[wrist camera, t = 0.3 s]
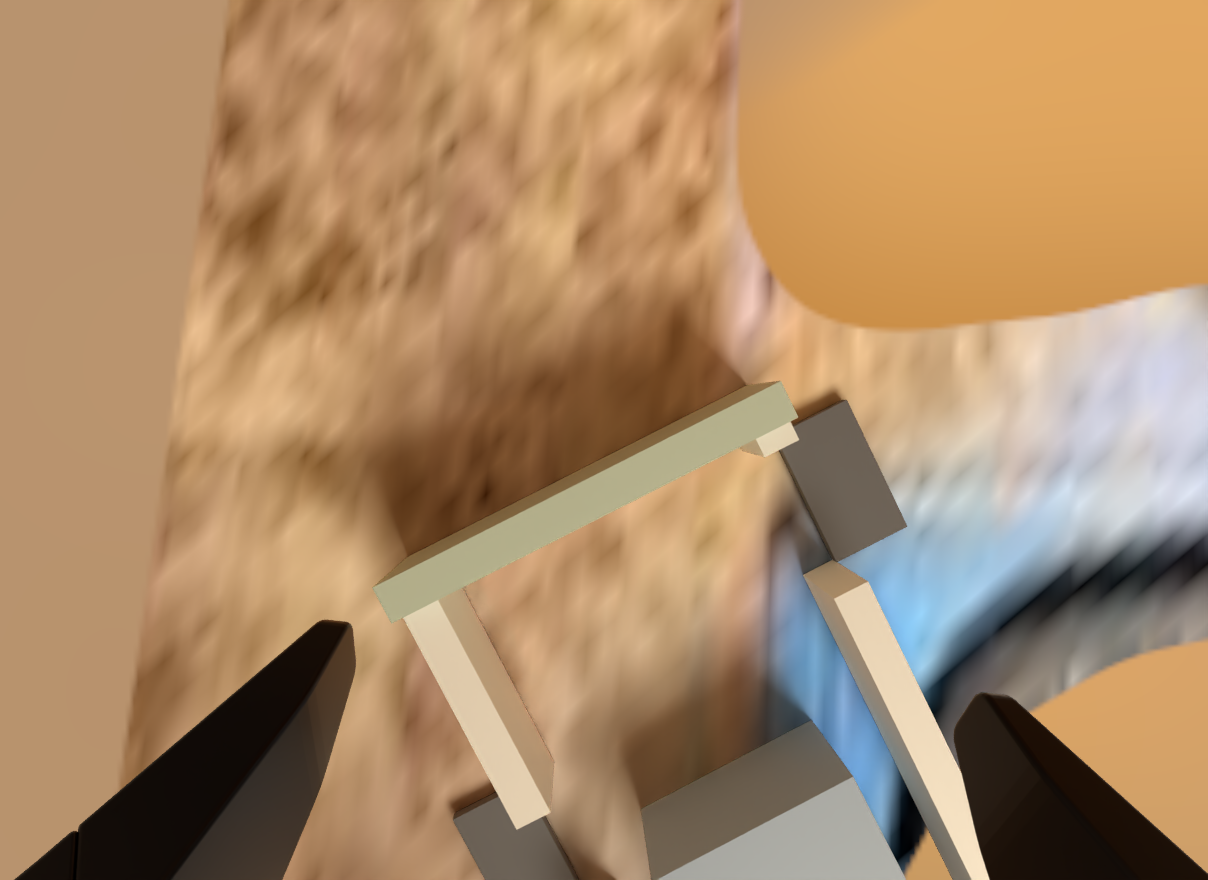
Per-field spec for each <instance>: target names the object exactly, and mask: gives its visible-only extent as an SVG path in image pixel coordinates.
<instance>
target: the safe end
mask: <svg viewBox="0 0 1208 880" xmlns="http://www.w3.org/2000/svg"><path fill="white" fill-rule="evenodd" d="M796 418H798V415H797V413H796V411H795V409H794V407H793V405H792V403H791V401H790V399H789V397H788V395H787V393H786V391H785V388H784V386H783V384H782V382H781V381H776V382H768V383H760V384H751V385H746V386H744V387H742V388H740V389H738V390H736V391H735V392H733V393H731V394H729V395H727V396H725V397H723V398H721V399H719V400H717V401H715V402H713V403H711V404H709V405H707V406H705V407H703V408H701V409H699V410H697V411H695V412H693V413H691V414H689V415H687V416H685V417H683V418H681V419H679V420H677V421H675V422H673V423H671V424H669V425H667V426H665V427H663V428H661V429H659V430H657V431H655V432H653V433H651V434H649V435H648V436H646V437H644V438H642V439H640V440H638V441H636V442H634V443H632V444H630V445H628V446H626V447H624V448H622V449H620V450H618V451H616V452H614V453H612V454H610V455H608V456H606V457H604V458H602V459H600V460H598V461H596V462H594V463H592V464H590V465H588V466H586V467H584V468H582V469H580V470H578V471H576V472H574V473H572V474H570V475H568V476H566V477H564V478H563V479H561V480H559V481H557V482H555V483H553V484H551V485H549V486H547V487H545V488H543V489H541V490H539V491H537V492H535V493H533V494H531V495H529V496H527V497H525V498H523V499H521V500H519V501H517V502H515V503H513V504H511V505H509V506H507V507H505V508H503V509H501V510H499V511H497V512H495V513H493V514H491V515H489V516H487V517H485V518H483V519H481V520H479V521H478V522H476V523H474V524H472V525H470V526H468V527H466V528H464V529H462V530H460V531H458V532H456V533H454V534H452V535H450V536H448V537H446V538H444V539H442V540H440V541H438V542H436V543H434V544H432V545H430V546H428V547H426V548H424V549H422V550H420V551H418V552H416V553H414V554H412V555H410V556H408V557H407V558H406V559H404V560H403V561H402V562H401V563H400V564H399V565H398V566H396V567H395V568H394V569H393V570H392V571H391V572H390V573H388V574H387V575H386V576H385V577H384V578H383V579H382V580H380V581H379V582H378V583H377V584H376V585H375V586H374V587H372V588H373V590H374V592H375V594H376V596H377V597H378V599H379V601H380V603H381V605H382V607H383V609H384V610H385V612H386V614H387V616H388V618H389V620H390V622H391V623H394V622H396V621H398V620H400V619H402V618H404V617H406V616H408V615H410V614H411V613H413V612H415V611H417V610H419V609H421V608H423V607H425V606H427V605H429V604H431V603H433V602H435V601H437V600H439V599H441V598H443V597H445V596H447V595H449V594H451V593H453V592H455V591H457V590H459V589H461V588H463V587H465V586H467V585H469V584H471V583H473V582H475V581H477V580H479V579H481V578H483V577H485V576H486V575H488V574H490V573H492V572H494V571H496V570H498V569H500V568H502V567H504V566H506V565H508V564H510V563H512V562H514V561H516V560H518V559H520V558H522V557H524V556H526V555H528V554H530V553H532V552H534V551H536V550H538V549H540V548H542V547H544V546H546V545H548V544H550V543H552V542H554V541H556V540H558V539H560V538H562V537H563V536H565V535H567V534H569V533H571V532H573V531H575V530H577V529H579V528H581V527H583V526H585V525H587V524H589V523H591V522H593V521H595V520H597V519H599V518H601V517H603V516H605V515H607V514H609V513H611V512H613V511H615V510H617V509H619V508H621V507H623V506H625V505H627V504H629V503H631V502H633V501H635V500H637V499H638V498H640V497H642V496H644V495H646V494H648V493H650V492H652V491H654V490H656V489H658V488H660V487H662V486H664V485H666V484H668V483H670V482H672V481H674V480H676V479H678V478H680V477H682V476H684V475H686V474H688V473H690V472H692V471H694V470H696V469H698V468H700V467H702V466H704V465H706V464H708V463H710V462H712V461H714V460H715V459H717V458H719V457H721V456H723V455H725V454H727V453H729V452H731V451H733V450H735V449H737V448H739V447H741V446H743V445H745V444H747V443H749V442H751V441H753V440H755V439H757V438H759V437H761V436H763V435H765V434H767V433H769V432H771V431H773V430H775V429H777V428H779V427H781V426H783V425H785V424H787V423H789V422H791V421H792V420H794V419H796Z"/></svg>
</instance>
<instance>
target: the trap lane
mask: <svg viewBox="0 0 1208 880" xmlns="http://www.w3.org/2000/svg"><path fill="white" fill-rule="evenodd" d="M798 440H799V438H798V436H797V434H796V432H795V430H794V428H793V426H792V424H791V422H789V423H787V424H785V425H783V426H781V427H779V428H777V429H775V430H773V431H771V432H769V433H767V434H765V435H763V436H761V437H759V438H757V439H755V440H753V441H751V442H749V443H747V444H745V445H743V446H741V447H740V448H741V450H742V451H744V452H748V453H751V454H755V455H758V456H762V457H767V456H769V455H771V454H772V453H774V452H776V451H778V450H780V449H782V448H784V447H786V446H788V445H790V444H792V443H794V442H796V441H798ZM803 576H804V578H805V580H806V582H807V584H808V586H809V588H810V590H811V593H812V595H813V597H814V599H815V601H816V603H817V605H818V607H819V609H820V611H821V613H822V615H823V617H824V619H825V621H826V623H827V625H828V627H829V629H830V631H831V633H832V635H833V637H834V639H835V641H836V643H837V645H838V647H839V649H840V652H841V654H842V656H843V658H844V660H845V662H846V664H847V666H848V668H849V670H850V672H851V674H852V676H853V678H854V680H855V682H856V684H857V686H858V688H859V690H860V692H861V694H862V696H863V698H864V700H865V702H866V704H867V706H868V708H869V711H870V713H871V715H872V717H873V719H874V721H875V723H876V725H877V727H878V729H879V731H880V733H881V735H882V737H883V739H884V741H885V743H886V745H887V747H888V749H889V751H890V753H891V755H892V757H893V759H894V761H895V763H896V765H897V767H898V769H899V772H900V774H901V776H902V778H903V780H904V782H905V784H906V786H907V788H908V790H909V792H910V794H911V796H912V798H913V800H914V802H915V804H916V806H917V808H918V810H919V812H920V814H921V816H922V818H923V820H924V822H925V824H926V826H927V828H928V831H929V833H930V835H931V837H932V839H933V840H934V843H935V845H936V847H937V849H938V851H939V853H940V855H941V857H942V859H943V861H944V863H945V865H946V867H947V869H948V871H949V873H950V875H951V877H952V879H953V880H989V877H988V874H987V871H986V868H985V864H984V861H983V858H982V855H981V852H980V848H979V844H978V841H977V837H976V833H975V829H974V825H973V820H972V816H971V812H970V808H969V803H968V799H967V795H966V791H965V786H964V782H963V778H962V774H961V772H960V770H959V768H958V766H957V764H956V762H955V760H954V758H953V756H952V754H951V751H950V749H949V747H948V745H947V743H946V741H945V739H944V737H943V735H942V733H941V731H940V729H939V727H938V725H937V723H936V721H935V718H934V716H933V714H932V712H931V710H930V708H929V706H928V704H927V702H926V700H925V698H924V696H923V694H922V692H921V690H920V688H919V686H918V683H917V681H916V679H915V677H914V675H913V673H912V671H911V669H910V667H909V665H908V663H907V661H906V659H905V657H904V655H903V653H902V650H901V648H900V646H899V644H898V642H897V640H896V638H895V636H894V634H893V632H892V630H891V628H890V626H889V624H888V622H887V620H886V618H885V615H884V613H883V611H882V609H881V607H880V605H879V603H878V601H877V599H876V597H875V595H874V593H873V591H872V589H871V587H870V585H869V582H868V581H866V580H865V579H863V578H862V577H860V576H858V575H857V574H855V573H853V572H852V571H850V570H848V569H847V568H845V567H844V566H842V565H840V564H839V563H837V562H835V561H834V560H831V561H829V562H827V563H825V564H823V565H821V566H819V567H817V568H815V569H813V570H811V571H809V572H808V573H806V574H804V575H803ZM404 620H405V622H406V624H407V626H408V628H409V630H410V632H411V633H412V635H413V637H414V639H415V641H416V643H417V645H418V647H419V648H420V650H421V652H422V654H423V656H424V658H425V660H426V661H427V663H428V665H429V667H430V669H431V671H432V673H433V675H434V676H435V678H436V680H437V682H438V684H439V686H440V688H441V689H442V691H443V693H444V695H445V697H446V699H447V701H448V703H449V704H450V706H451V708H452V710H453V712H454V714H455V716H456V718H457V719H458V721H459V723H460V725H461V727H462V729H463V731H464V732H465V734H466V736H467V738H468V740H469V742H470V744H471V746H472V747H473V749H474V751H475V753H476V755H477V757H478V759H479V760H480V762H481V764H482V766H483V768H484V770H485V772H486V774H487V775H488V777H489V779H490V781H491V783H492V785H493V787H494V789H495V790H496V792H497V794H498V796H499V798H500V800H501V802H502V803H503V805H504V807H505V809H506V811H507V813H508V815H509V817H510V818H511V820H512V822H513V824H514V826H515V828H516V830H517V829H519V828H521V827H523V826H525V825H527V824H529V823H531V822H533V821H535V820H537V819H539V818H541V817H543V816H545V815H547V814H549V813H551V801H552V788H553V774H554V761H553V759H552V757H551V755H550V753H549V751H548V749H547V747H546V745H545V744H544V742H543V740H542V738H541V736H540V734H539V732H538V730H537V728H536V727H535V725H534V723H533V721H532V719H531V717H530V715H529V713H528V711H527V709H526V708H525V706H524V704H523V702H522V700H521V698H520V696H519V694H518V692H517V691H516V689H515V687H514V685H513V683H512V681H511V679H510V677H509V675H508V673H507V672H506V670H505V668H504V666H503V664H502V662H501V660H500V658H499V656H498V654H497V653H496V651H495V649H494V647H493V645H492V643H491V641H490V639H489V637H488V636H487V634H486V632H485V630H484V628H483V626H482V624H481V622H480V620H479V618H478V617H477V615H476V613H475V611H474V609H473V607H472V605H471V603H470V601H469V599H468V598H467V596H466V594H465V592H464V590H463V588H461V589H459V590H457V591H455V592H453V593H451V594H449V595H447V596H445V597H443V598H441V599H439V600H437V601H435V602H433V603H431V604H429V605H427V606H425V607H423V608H421V609H419V610H417V611H415V612H413V613H411V614H410V615H408V616H406V617H404Z"/></svg>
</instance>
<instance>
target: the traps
mask: <svg viewBox="0 0 1208 880" xmlns="http://www.w3.org/2000/svg"><path fill="white" fill-rule="evenodd" d="M792 426H793V428H794V430H795V432H796V434H797V436H798V438H799V440H798V441H796V442H794V443H792V444H790V445H788V446H786V447H784V448H782V449H780V450H779V451H780V453H781V455H782V457H783V459H784V461H785V463H786V465H787V467H788V469H789V471H790V473H791V476H792V478H793V480H794V482H795V484H796V486H797V488H798V490H799V492H800V494H801V496H802V498H803V500H804V502H805V504H806V506H807V508H808V510H809V512H810V514H811V517H812V519H813V521H814V523H815V525H816V527H817V529H818V531H819V533H820V535H821V537H822V539H823V541H824V543H825V545H826V547H827V549H828V551H829V553H830V555H831V558H832V560H834V561H835V562H838V561H840V560H842V559H844V558H846V557H848V556H850V555H852V554H854V553H856V552H858V551H860V550H862V549H864V548H866V547H868V546H870V545H872V544H874V543H876V542H878V541H880V540H882V539H884V538H886V537H888V536H890V535H892V534H893V533H895V532H897V531H899V530H901V529H903V528H905V527H907V525H906V523H905V521H904V518H903V516H902V514H901V512H900V510H899V508H898V506H897V504H896V502H895V500H894V498H893V495H892V493H891V491H890V489H889V487H888V485H887V483H886V481H885V479H884V477H883V475H882V472H881V470H880V468H879V466H878V464H877V462H876V460H875V458H874V456H873V454H872V452H871V449H870V447H869V445H868V443H867V441H866V439H865V437H864V435H863V433H862V431H861V429H860V427H859V424H858V422H857V420H856V418H855V416H854V414H853V412H852V410H851V408H850V406H849V404H848V401H847V400H841V401H839V402H837V403H835V404H833V405H831V406H829V407H827V408H825V409H823V410H821V411H820V412H818V413H816V414H814V415H812V416H810V417H808V418H806V419H804V420H802V421H800V422H798V423H796V424H794V425H792ZM453 821H454V823H455V825H456V827H457V829H458V830H459V832H460V834H461V836H462V838H463V840H464V841H465V843H466V845H467V847H468V849H469V851H470V853H471V854H472V856H473V858H474V860H475V862H476V864H477V866H478V867H479V869H480V871H481V873H482V875H483V877H484V878H485V880H579V879H578V877H577V875H576V873H575V872H574V870H573V868H572V866H571V864H570V862H569V860H568V858H567V856H566V855H565V853H564V851H563V849H562V847H561V845H560V843H559V841H558V840H557V838H556V836H555V834H554V832H553V830H552V828H551V826H550V824H549V823H548V821H547V819H546V817H545V816H543V817H541V818H539V819H537V820H535V821H533V822H531V823H529V824H527V825H525V826H523V827H521V828H519V829H517V830H516V828H515V826H514V824H513V822H512V820H511V818H510V817H509V815H508V813H507V811H506V809H505V807H504V805H503V803H502V802H501V800H500V798H499V796H498V794H497V792H495V793H493V794H491V795H489V796H487V797H485V798H483V799H481V800H479V801H477V802H476V803H474V804H472V805H470V806H468V807H466V808H464V809H462V810H460V811H458V812H456V813H455V814H454V817H453Z"/></svg>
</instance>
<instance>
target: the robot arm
mask: <svg viewBox="0 0 1208 880" xmlns="http://www.w3.org/2000/svg"><path fill="white" fill-rule="evenodd" d="M355 668H356V656H355V646H354V636H353V628H352V626H351V624H350V623H348V622H343V621H334V620H321V621H319V622H317V623H316V624H315V625H313V626H312V627H311V628H310V629H309V630H308V631H306V632H305V633H304V634H303V635H302V636H301V637H299V638H298V639H297V640H296V641H295V642H294V643H292V644H291V645H290V646H289V647H288V648H287V649H285V650H284V651H283V652H282V653H281V654H279V655H278V656H277V657H276V658H275V659H274V660H272V661H271V662H270V663H269V664H268V665H267V666H265V667H264V668H263V669H262V670H261V671H260V672H258V673H257V674H256V675H255V676H254V677H253V678H251V679H250V680H249V681H248V682H247V683H246V684H244V685H243V686H242V687H241V688H240V689H238V690H237V691H236V692H235V693H234V694H233V695H231V696H230V697H229V698H228V699H227V700H226V701H224V702H223V703H222V704H221V705H220V706H219V707H217V708H216V709H215V710H214V711H213V712H212V713H210V714H209V715H208V716H207V717H206V718H204V719H203V720H202V721H201V722H200V723H199V724H197V725H196V726H195V727H194V728H193V729H192V730H190V731H189V732H188V733H187V734H186V735H185V736H183V737H182V738H181V739H180V740H179V741H178V742H176V743H175V744H174V745H173V746H172V747H170V748H169V749H168V750H167V751H166V752H165V753H163V754H162V755H161V756H160V757H159V758H158V759H156V760H155V761H154V762H153V763H152V764H151V765H149V766H148V767H147V768H146V769H145V770H144V771H142V772H141V773H140V774H139V775H138V776H137V777H135V778H134V779H133V780H132V781H131V782H129V783H128V784H127V785H126V786H125V787H124V788H122V789H121V790H120V791H119V792H118V793H117V794H115V795H114V796H113V797H112V798H111V799H110V800H108V801H107V802H106V803H105V804H104V805H103V806H101V807H100V808H99V809H98V810H97V811H95V812H94V813H93V814H92V815H91V816H90V817H88V818H87V819H86V820H85V821H84V822H83V823H82V824H80V826H79V828H78V832H77V831H73V832H71V833H69V834H68V835H67V836H66V837H65V838H63V839H62V840H61V841H60V842H59V843H58V844H56V845H55V846H54V847H53V848H52V849H51V850H50V851H48V852H47V853H46V854H45V855H44V856H42V857H41V858H40V859H39V860H38V861H37V862H35V863H34V864H33V865H32V866H30V867H29V868H28V869H27V870H25V871H24V872H23V873H22V874H21V875H19V876H18V877H17V878H16V879H15V880H282V879H283V877H284V874H285V872H286V870H287V867H288V865H289V863H290V860H291V858H292V855H293V853H294V851H295V848H296V846H297V843H298V841H299V839H300V836H301V834H302V832H303V829H304V827H305V824H306V822H307V820H308V817H309V815H310V812H311V810H312V808H313V805H314V803H315V800H316V798H317V795H318V793H319V790H320V787H321V785H322V781H323V778H324V775H325V772H326V769H327V766H328V762H329V759H330V756H331V752H332V749H333V745H334V742H335V739H336V735H337V732H338V729H339V725H340V722H341V719H342V715H343V712H344V709H345V705H346V702H347V698H348V695H349V692H350V688H351V685H352V682H353V678H354V674H355ZM954 743H955V748H956V752H957V756H958V761H959V765H960V769H961V773H962V778H963V782H964V786H965V791H966V795H967V799H968V803H969V808H970V812H971V816H972V820H973V825H974V829H975V833H976V837H977V841H978V844H979V848H980V852H981V855H982V858H983V861H984V864H985V868H986V871H987V874H988V877H989V880H1208V873H1206V872H1205V871H1204V870H1203V869H1202V868H1201V867H1200V866H1199V865H1198V864H1196V863H1195V862H1194V861H1193V860H1192V859H1191V858H1190V857H1189V856H1188V855H1186V854H1185V853H1184V852H1183V851H1182V850H1181V849H1180V848H1179V847H1178V846H1177V845H1175V844H1174V843H1173V842H1172V841H1171V840H1170V839H1169V838H1168V837H1166V836H1165V835H1164V834H1163V833H1162V832H1161V831H1160V830H1159V829H1158V828H1156V827H1155V826H1154V825H1153V824H1152V823H1151V822H1150V821H1149V820H1148V819H1147V818H1145V817H1144V816H1143V815H1142V814H1141V813H1140V812H1139V811H1138V810H1136V809H1135V808H1134V807H1133V806H1132V805H1131V804H1130V803H1129V802H1128V801H1127V800H1125V799H1124V798H1123V797H1122V796H1121V795H1120V794H1119V793H1118V792H1116V791H1115V790H1114V789H1113V788H1112V787H1111V786H1110V785H1109V784H1108V783H1106V782H1105V781H1104V780H1103V779H1102V778H1101V777H1100V776H1099V775H1098V774H1097V773H1096V772H1094V771H1093V770H1092V769H1091V768H1090V767H1088V765H1086V764H1085V763H1084V762H1083V761H1082V760H1081V759H1080V758H1079V757H1078V756H1077V755H1075V754H1074V753H1073V752H1072V751H1071V750H1070V749H1069V748H1068V747H1067V746H1065V745H1064V744H1063V743H1062V742H1061V741H1060V740H1059V739H1058V738H1057V737H1056V736H1054V735H1053V734H1052V733H1051V732H1050V731H1049V730H1048V729H1047V728H1046V727H1044V726H1043V725H1042V724H1041V723H1040V722H1039V721H1038V720H1037V719H1036V718H1034V717H1033V716H1032V715H1031V714H1030V713H1029V712H1028V711H1027V710H1026V709H1024V708H1023V707H1022V706H1021V705H1020V704H1019V703H1018V702H1017V701H1016V700H1014V699H1013V698H1012V697H1010V696H1008V695H1004V694H997V693H988V692H980V693H978V694H976V695H975V696H974V698H973V699H972V701H971V702H970V704H969V705H968V707H967V708H966V710H965V711H964V713H963V714H962V716H961V717H960V719H959V720H958V722H957V723H956V725H955V729H954Z"/></svg>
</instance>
